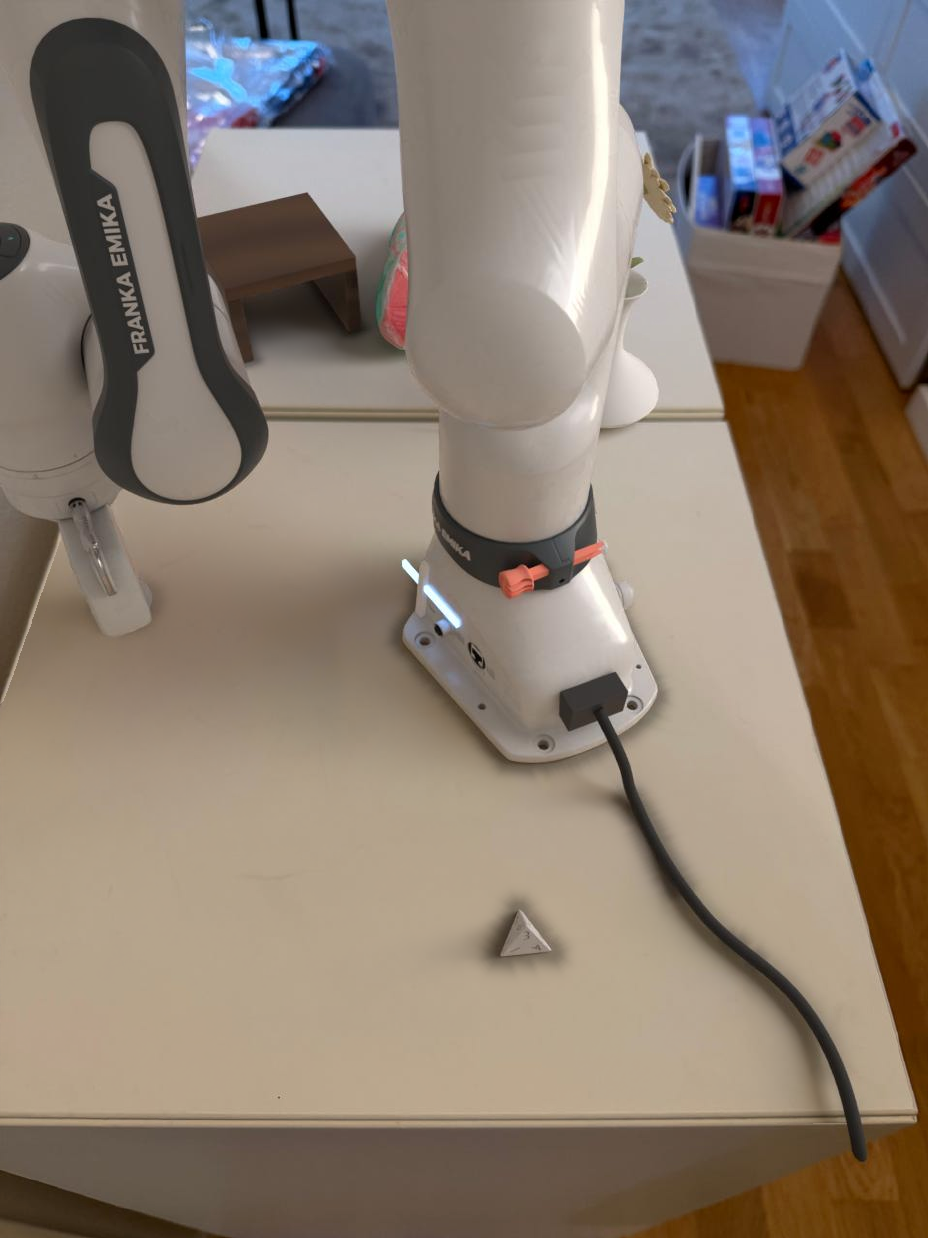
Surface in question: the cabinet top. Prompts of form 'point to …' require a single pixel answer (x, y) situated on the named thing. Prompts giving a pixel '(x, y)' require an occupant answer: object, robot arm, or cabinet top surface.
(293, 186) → the cabinet top surface
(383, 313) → the athletic shoe
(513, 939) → the tetrahedral die
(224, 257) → the shelf
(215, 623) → the cabinet top surface
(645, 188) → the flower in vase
